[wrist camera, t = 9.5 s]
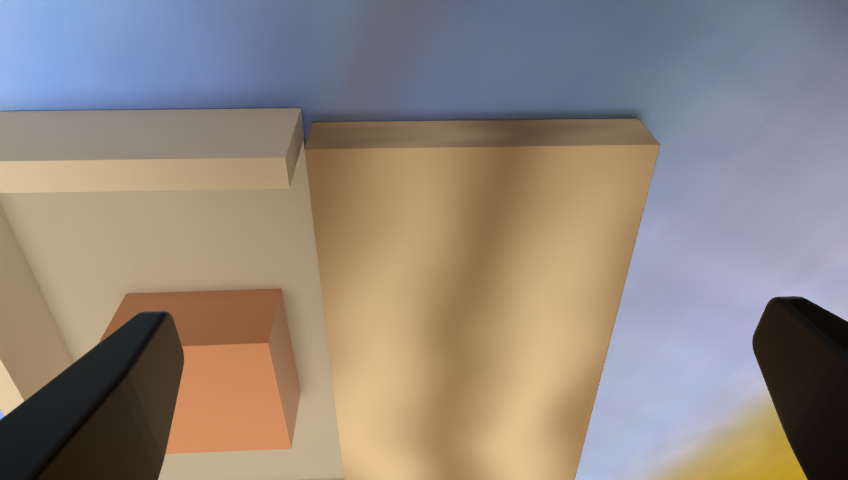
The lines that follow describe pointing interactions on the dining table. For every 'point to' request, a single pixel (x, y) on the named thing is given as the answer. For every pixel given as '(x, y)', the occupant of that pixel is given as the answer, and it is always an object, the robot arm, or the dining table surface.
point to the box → (161, 249)
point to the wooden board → (472, 287)
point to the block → (227, 368)
